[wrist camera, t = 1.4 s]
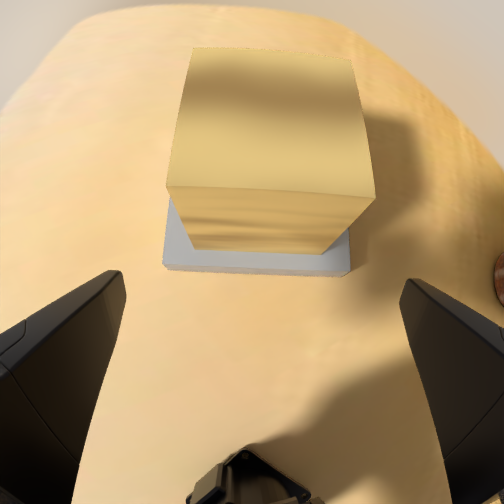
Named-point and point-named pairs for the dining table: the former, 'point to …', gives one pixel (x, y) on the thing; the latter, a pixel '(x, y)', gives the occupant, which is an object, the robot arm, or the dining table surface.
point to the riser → (250, 256)
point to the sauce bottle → (499, 278)
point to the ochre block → (269, 151)
